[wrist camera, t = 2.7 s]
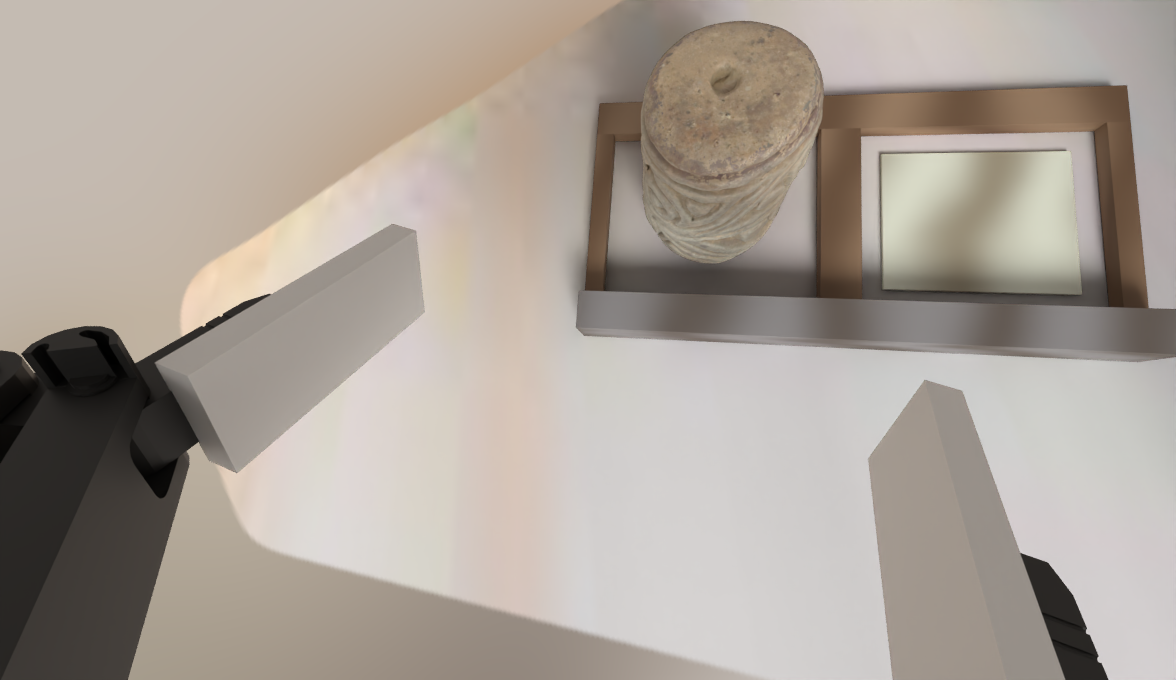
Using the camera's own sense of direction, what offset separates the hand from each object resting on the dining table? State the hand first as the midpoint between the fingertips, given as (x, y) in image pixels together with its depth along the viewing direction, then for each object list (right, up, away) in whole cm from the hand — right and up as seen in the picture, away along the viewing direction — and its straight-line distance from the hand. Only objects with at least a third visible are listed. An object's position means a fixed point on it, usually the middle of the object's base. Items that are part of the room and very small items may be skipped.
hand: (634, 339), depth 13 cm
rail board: (+12, +6, +14) cm, 20 cm away
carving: (+6, +7, +16) cm, 18 cm away
